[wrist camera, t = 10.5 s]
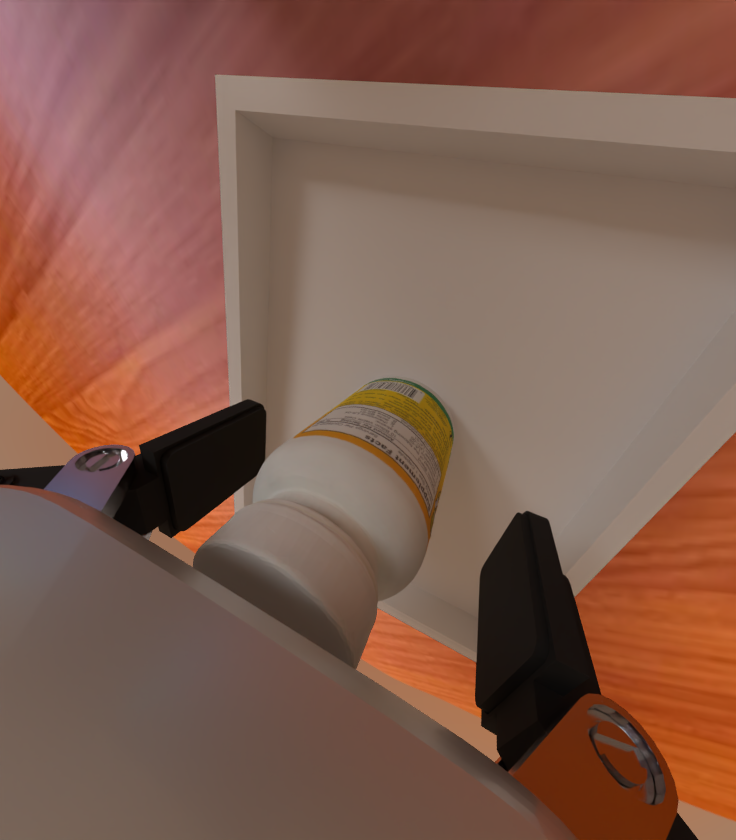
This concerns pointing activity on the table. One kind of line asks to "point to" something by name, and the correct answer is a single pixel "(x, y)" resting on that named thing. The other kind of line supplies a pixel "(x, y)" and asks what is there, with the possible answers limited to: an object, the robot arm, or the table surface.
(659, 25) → the table surface
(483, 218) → the tray
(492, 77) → the table surface
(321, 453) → the supplement bottle
